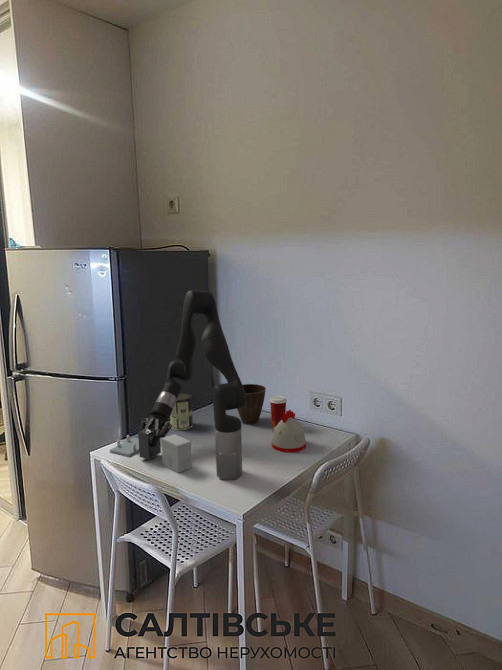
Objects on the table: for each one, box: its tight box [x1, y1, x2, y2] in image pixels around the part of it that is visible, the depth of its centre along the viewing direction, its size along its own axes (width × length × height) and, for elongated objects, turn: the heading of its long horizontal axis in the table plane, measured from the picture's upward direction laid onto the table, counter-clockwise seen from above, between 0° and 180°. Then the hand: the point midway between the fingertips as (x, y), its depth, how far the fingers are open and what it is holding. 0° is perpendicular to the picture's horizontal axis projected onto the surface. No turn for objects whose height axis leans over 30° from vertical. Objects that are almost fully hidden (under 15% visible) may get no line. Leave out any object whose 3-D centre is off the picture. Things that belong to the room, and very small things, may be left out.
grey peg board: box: [109, 434, 139, 458], centre depth 190 cm, size 14×10×4 cm
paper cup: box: [269, 395, 288, 429], centre depth 208 cm, size 8×8×14 cm
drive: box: [137, 427, 162, 460], centre depth 180 cm, size 7×5×10 cm
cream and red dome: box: [271, 409, 307, 453], centre depth 189 cm, size 14×14×15 cm
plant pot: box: [237, 383, 267, 425], centre depth 216 cm, size 15×15×16 cm
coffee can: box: [169, 392, 194, 431], centre depth 212 cm, size 10×10×14 cm
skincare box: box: [161, 433, 193, 474], centre depth 173 cm, size 10×6×10 cm, turn 44°
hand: (146, 445), depth 178 cm, fingers closed on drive, 4 cm apart
